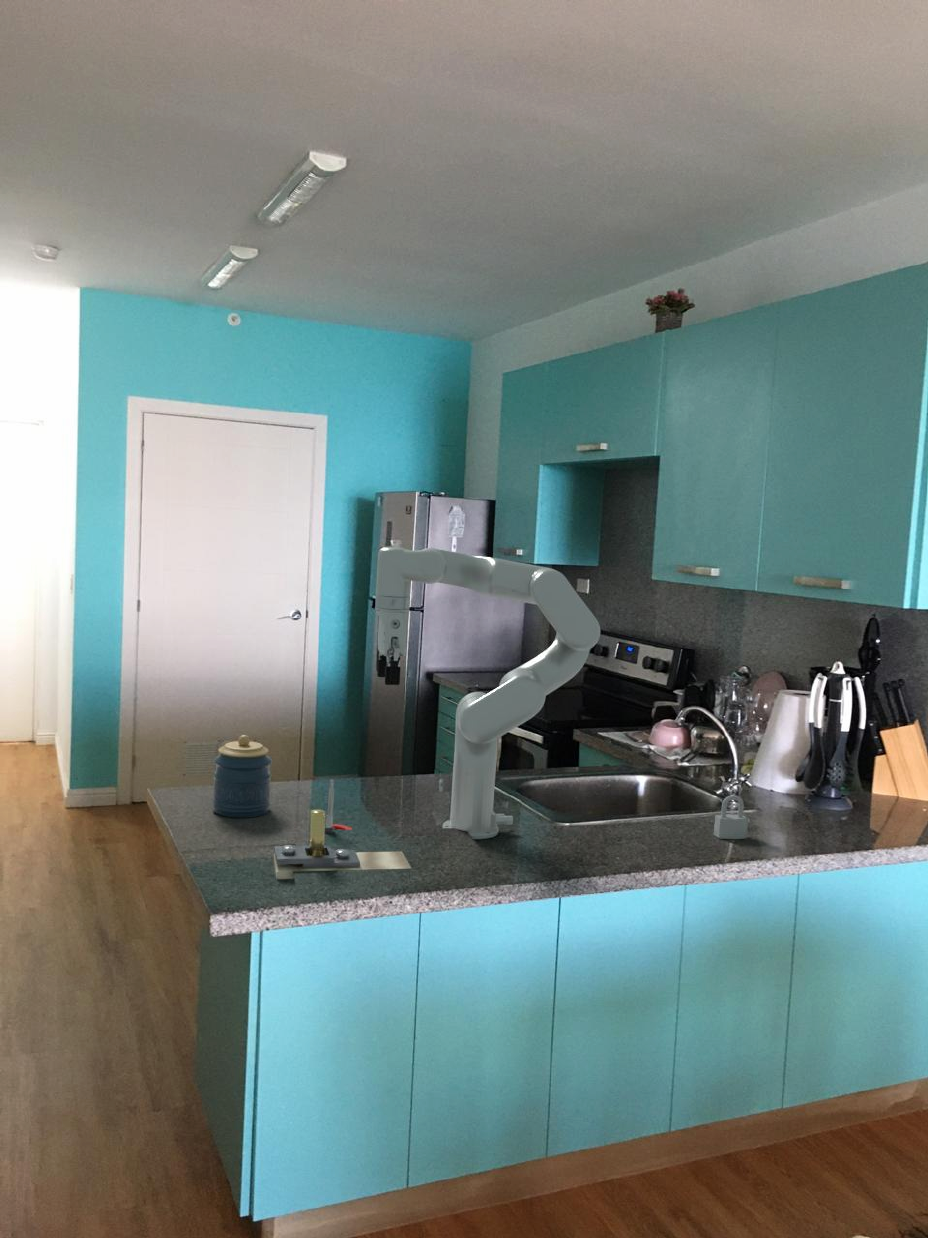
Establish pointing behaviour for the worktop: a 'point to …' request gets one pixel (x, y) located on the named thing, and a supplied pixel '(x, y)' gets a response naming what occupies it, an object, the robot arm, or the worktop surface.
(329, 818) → the tow hook
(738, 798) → the padlock
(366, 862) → the jig board
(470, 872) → the worktop surface
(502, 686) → the robot arm
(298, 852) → the riveted slotted plate
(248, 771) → the canister
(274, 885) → the worktop surface
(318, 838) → the pin
